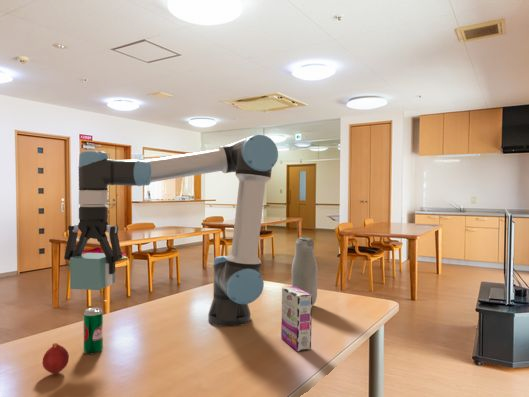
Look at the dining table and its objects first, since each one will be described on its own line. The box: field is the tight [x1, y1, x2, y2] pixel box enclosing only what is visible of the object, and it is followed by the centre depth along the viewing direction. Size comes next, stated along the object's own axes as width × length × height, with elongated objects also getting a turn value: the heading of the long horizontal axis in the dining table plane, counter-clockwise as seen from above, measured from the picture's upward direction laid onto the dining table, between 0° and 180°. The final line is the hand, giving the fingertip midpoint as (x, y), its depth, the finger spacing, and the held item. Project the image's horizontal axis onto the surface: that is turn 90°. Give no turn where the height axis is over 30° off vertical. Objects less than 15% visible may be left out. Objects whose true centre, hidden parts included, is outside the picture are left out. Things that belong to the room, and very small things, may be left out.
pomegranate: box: [42, 342, 70, 376], centre depth 96 cm, size 6×6×8 cm
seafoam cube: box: [69, 252, 116, 291], centre depth 109 cm, size 9×9×9 cm
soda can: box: [83, 307, 104, 355], centre depth 110 cm, size 5×5×12 cm
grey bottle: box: [291, 236, 319, 306], centre depth 154 cm, size 10×10×28 cm
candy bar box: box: [280, 286, 313, 353], centre depth 117 cm, size 11×5×16 cm, turn 23°
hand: (93, 284), depth 109 cm, fingers closed on seafoam cube, 9 cm apart
